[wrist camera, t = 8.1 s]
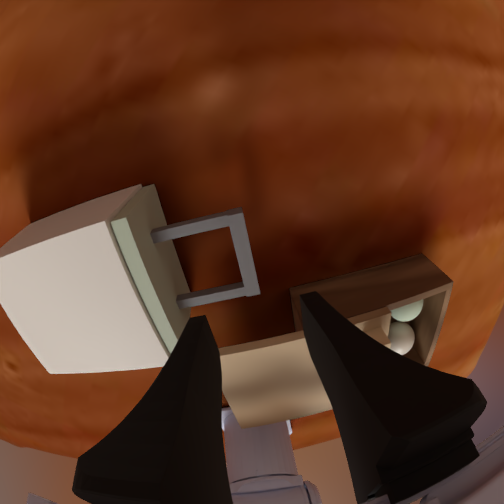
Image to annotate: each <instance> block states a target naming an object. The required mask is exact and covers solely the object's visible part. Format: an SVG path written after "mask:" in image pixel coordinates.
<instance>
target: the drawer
mask: <svg viewBox="0 0 504 504" xmlns="http://www.w3.org/2000/svg"><path fill="white" fill-rule="evenodd" d="M111 225H112V228H113V230H114V233H115V236H116V238H117V241H118V243H119V246H120V248H121V251H122V253H123V256H124V258H125V261H126V263H127V265H128V268H129V270H130V272H131V275H132V277H133V279H134V281H135V284H136V286H137V288H138V290H139V292H140V295H141V297H142V299H143V301H144V303H145V305H146V307H147V309H148V312H149V314H150V316H151V318H152V320H153V322H154V324H155V326H156V328H157V330H158V331H159V333H160V335H161V337H162V339H163V341H164V343H165V345H166V347H167V349H168V350H169V352H170V354H171V352H172V351H173V349H174V347H175V345H176V343H177V341H178V339H179V337H180V335H181V333H182V331H183V329H184V327H185V325H186V323H187V321H188V320H189V318H190V312H191V307H192V306H197V305H203V304H208V303H213V302H218V301H222V300H227V299H232V298H237V297H242V296H247V297H249V296H254V295H258V294H260V289H259V285H258V280H257V275H256V271H255V266H254V262H253V257H252V252H251V248H250V243H249V238H248V234H247V229H246V225H245V220H244V215H243V211H242V207H239V208H234V209H230V210H227V211H225V212H221V213H216V214H212V215H208V216H203V217H199V218H195V219H191V220H187V221H183V222H178V223H174V224H170V225H167V223H166V220H165V217H164V213H163V210H162V207H161V204H160V200H159V197H158V194H157V190H156V187H155V184H152V185H148V186H145V187H142V188H141V189H140V191H139V192H138V193H137V194H136V195H135V196H134V197H133V198H132V199H131V200H130V201H129V202H128V203H127V204H126V205H125V206H124V207H123V209H122V210H121V211H120V212H119V213H118V214H117V215H116V216H115V217H114V218H113V220H112V221H111ZM227 226H229V227H230V231H231V235H232V239H233V243H234V247H235V251H236V255H237V259H238V263H239V268H240V272H241V276H242V280H243V282H238V283H234V284H229V285H224V286H220V287H215V288H210V289H205V290H200V291H195V292H190V290H189V287H188V284H187V281H186V279H185V276H184V273H183V270H182V268H181V265H180V262H179V259H178V256H177V253H176V250H175V247H174V244H173V241H172V239H175V238H179V237H184V236H188V235H192V234H196V233H201V232H205V231H209V230H214V229H218V228H223V227H227Z"/></svg>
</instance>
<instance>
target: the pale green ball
mask: <svg viewBox="0 0 504 504" xmlns="http://www.w3.org/2000/svg"><path fill="white" fill-rule="evenodd" d="M422 307H423V299H422V300H419V301H417V302H414V303H411V304H408V305H405V306H403V307H400V308H397V309H394V310H391V312H392V314H391V316H392V317H393V318H395V319H396V320H398V321H403V322H405V321H410V320H412V319H414V318H415V317H417V316H418V315H419V313H420V312H421V310H422Z"/></svg>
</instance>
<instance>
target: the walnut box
mask: <svg viewBox="0 0 504 504" xmlns="http://www.w3.org/2000/svg"><path fill="white" fill-rule="evenodd" d="M452 286H453V281H452V280H451V279H450V278H449V277H448V276H447V275H446V274H445V273H444V272H443V271H441V270H440V269H439V268H438V267H437V266H436V265H435V264H434V263H432V262H431V261H430V260H429V259H428V258H427V257H426V256H424V255H423V254H418V255H415V256H411V257H408V258H404V259H401V260H397V261H394V262H390V263H386V264H383V265H379V266H375V267H372V268H368V269H364V270H360V271H356V272H353V273H349V274H345V275H341V276H337V277H333V278H329V279H325V280H321V281H317V282H313V283H308V284H304V285H300V286H296V287H291V288H289V290H290V297H291V304H292V311H293V319H294V326H295V332H298V331H302V330H303V322H302V313H301V304H300V296H299V295H301V294H305V293H309V292H313V291H316V292H318V293H319V294H320V295H321V296H322V297H323V298H324V299H325V300H326V301H327V302H328V303H329V304H330V305H331V306H333V307H334V308H335V309H336V310H337V311H338V312H339V313H340V314H342V315H343V316H344V317H345V318H351V317H354V316H357V315H361V314H364V313H367V312H371V311H374V310H377V309H380V308H383V307H388V308H389V310H390V311H391V310H394V309H397V308H400V307H403V306H405V305H408V304H411V303H414V302H417V301H419V300H422V299H423V307H422V310H421V312H420V313H419V315H418V316H417V317H415V318H414V319H412V320H410V321H405V323H407V324H408V325H410V326H411V327H412V329H413V331H414V334H415V340H414V344H413V346H412V348H411V349H410V350H409V351H408V352H407V353H406V354H404V355H402V356H405V357H407V358H409V359H411V360H413V361H416V362H418V363H420V364H422V365H425V366H428V365H429V362H430V360H431V357H432V354H433V351H434V349H435V346H436V343H437V340H438V337H439V334H440V330H441V327H442V324H443V320H444V317H445V313H446V310H447V306H448V302H449V298H450V294H451V290H452ZM394 322H403V321H398V320H396V319H395V318H393V317H392V316H391V321H390V324H392V323H394Z"/></svg>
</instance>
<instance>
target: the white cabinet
mask: <svg viewBox="0 0 504 504" xmlns="http://www.w3.org/2000/svg"><path fill="white" fill-rule="evenodd" d="M141 188H142V185H141V184H139V185H136V186H132V187H129V188H126V189H123V190H120V191H117V192H114V193H111V194H108V195H105V196H102V197H99V198H96V199H93V200H90V201H87V202H84V203H82V204H79V205H76V206H74V207H71V208H68V209H66V210H63V211H60V212H58V213H55V214H53V215H50V216H48V217H45V218H43V219H40V220H38V221H36V222H33V223H31V224H29V225H28V226H27V227H25V228H24V229H23V230H22V231H20V232H19V233H18V234H17V235H15V236H14V237H13V238H12V239H11V240H9V241H8V242H7V243H6V244H5V245H3V246H2V247H1V248H0V303H1V305H2V307H3V309H4V310H5V312H6V313H7V315H8V317H9V318H10V320H11V321H12V323H13V325H14V326H15V328H16V329H17V331H18V332H19V334H20V335H21V336H22V338H23V339H24V341H25V342H26V344H27V345H28V346H29V348H30V349H31V350H32V352H33V353H34V354H35V356H36V357H37V358H38V360H39V361H40V362H41V364H42V365H43V366H44V367H45V369H46V370H47V371H48V372H49V373H50V374H68V373H94V372H110V371H123V370H135V369H145V368H154V367H163V366H164V365H165V363H166V362H167V360H168V358H169V356H170V352H169V350H168V349H167V347H166V345H165V343H164V341H163V339H162V337H161V335H160V333H159V331H158V330H157V328H156V326H155V324H154V322H153V320H152V318H151V316H150V314H149V312H148V309H147V307H146V305H145V303H144V301H143V299H142V297H141V295H140V292H139V290H138V288H137V286H136V284H135V281H134V279H133V277H132V275H131V272H130V270H129V268H128V265H127V263H126V261H125V258H124V256H123V253H122V251H121V248H120V246H119V243H118V241H117V238H116V236H115V233H114V230H113V228H112V225H111V221H112V220H113V218H114V217H115V216H116V215H117V214H118V213H119V212H120V211H121V210H122V209H123V207H124V206H125V205H126V204H127V203H128V202H129V201H130V200H131V199H132V198H133V197H134V196H135V195H136V194H137V193H138V192H139V191H140V189H141Z"/></svg>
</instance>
